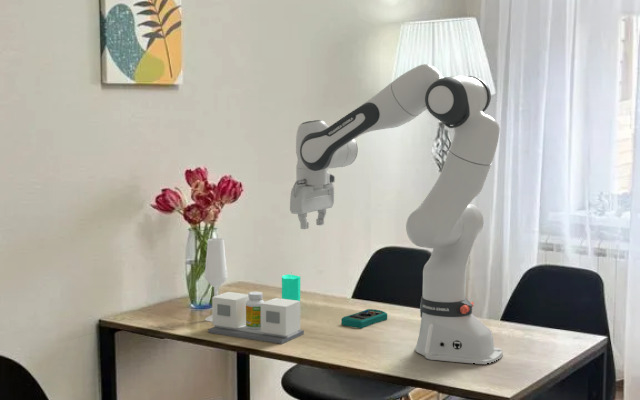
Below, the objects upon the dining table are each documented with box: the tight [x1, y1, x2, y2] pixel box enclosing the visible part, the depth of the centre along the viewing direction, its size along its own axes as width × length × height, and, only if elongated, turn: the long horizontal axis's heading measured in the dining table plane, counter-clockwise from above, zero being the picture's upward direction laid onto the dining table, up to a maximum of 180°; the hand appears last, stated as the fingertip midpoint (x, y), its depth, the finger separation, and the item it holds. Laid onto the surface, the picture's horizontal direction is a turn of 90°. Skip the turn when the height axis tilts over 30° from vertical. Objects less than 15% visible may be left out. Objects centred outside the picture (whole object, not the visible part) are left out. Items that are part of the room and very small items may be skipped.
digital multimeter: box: [340, 308, 388, 329], centre depth 267 cm, size 7×15×3 cm, turn 143°
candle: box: [281, 273, 301, 302], centre depth 281 cm, size 6×6×12 cm
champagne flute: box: [204, 237, 228, 323], centre depth 267 cm, size 7×7×24 cm
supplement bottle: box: [246, 291, 265, 329], centre depth 252 cm, size 5×5×10 cm
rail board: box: [207, 291, 305, 345], centre depth 252 cm, size 24×12×10 cm, turn 62°
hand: (312, 226), depth 255 cm, fingers open, 8 cm apart
